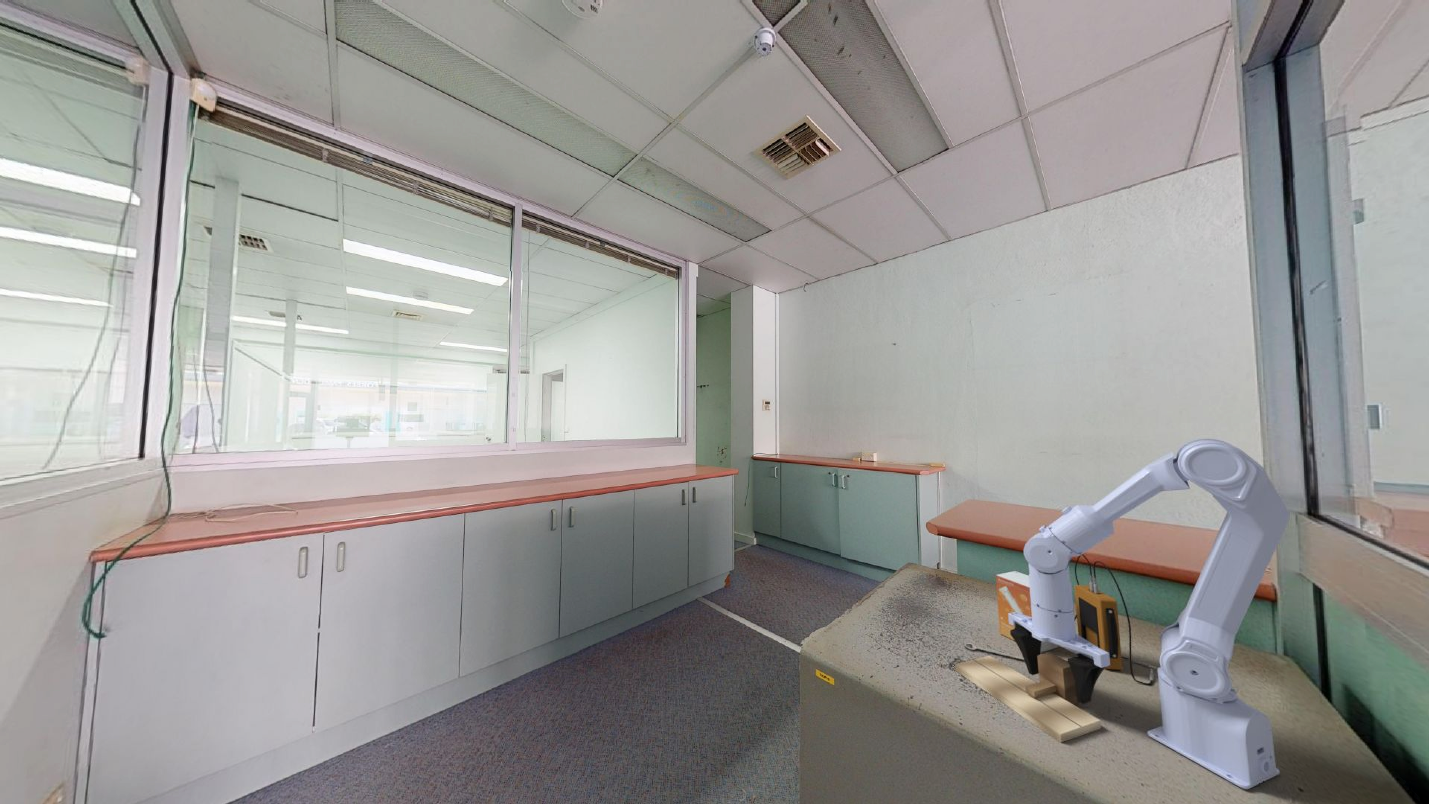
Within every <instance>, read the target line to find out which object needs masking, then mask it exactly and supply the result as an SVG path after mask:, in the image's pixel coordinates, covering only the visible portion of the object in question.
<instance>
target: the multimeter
mask: <svg viewBox="0 0 1429 804" xmlns="http://www.w3.org/2000/svg"><path fill="white" fill-rule="evenodd" d="M1081 556H1082V557H1083V558H1084V559H1085V560H1086V561H1087V563H1088V567H1089V574H1090V575H1089V585H1086V584H1085V585H1084V584H1083V585H1082V584H1080V583H1079V580H1078V575H1077V565H1078V562H1079V560H1080V557H1081ZM1098 563H1099V564H1101V565H1103V566H1104V567H1105V569H1106V570H1107V571H1108V572H1109V575H1111V578H1112V579H1113V581H1114V584H1115V586H1116V587H1117V589H1118V592H1119V595H1120V598H1121V600H1122V604H1123V607H1124V611H1125V614H1126V618H1127V625H1128V634H1129V635H1128V638H1129V639H1128V645H1129V647H1128V650H1129V651H1128V654H1129V656H1128V657H1129V658H1128V657H1125V656H1122V647H1121V645H1122V644H1121V637H1120V636H1121V635H1120V624H1119V623H1120V622H1119V611H1118V601H1117V600H1116V599H1115V598H1113V597H1112V596H1109V595H1108V594H1106V593H1104V592H1102V591H1100V590H1099V585H1098V584H1097V576H1096V575H1097V573H1096V565H1097V564H1098ZM1092 568H1093V570H1092ZM1074 576H1075V581H1076V583H1077V584H1074V585H1073V586H1074V598H1075V599H1074V600H1075V601H1074V602H1075V612H1076V614H1075V615H1074V618H1075V621H1076V622H1077V623H1076V624H1077V632H1078V633H1077V635H1079V636H1080V637H1082V638H1084V639H1085V640H1087V641H1088V642H1090V643H1092V644H1093V645H1095V646H1096V647H1098V648H1100V649H1102V650H1104V651H1106V652H1108V653H1109V657H1110V666H1107V667H1106V668H1105V669H1104V670H1119V671H1122V670H1123V660H1122V659H1125V660H1128V661H1129V670H1130V674H1131V677H1132V679H1133V680H1134V681H1135V682H1137V683H1138V684H1142V685H1147V686H1151V685H1152V684H1153V682H1154V677H1155V673H1154V672H1153V669H1157V670H1158V668H1159V667H1157V666H1155V665H1150V663H1146V662H1143V661H1141V660H1136V659H1134V658H1132V627H1131V620H1130V615H1129V613H1128V608H1127V606H1126V602H1125V599H1124V596H1123V593H1122V591H1121V588H1120V587H1119V583H1118V582H1117V580H1116V578H1115V576H1114V574H1113V573H1112V571H1111V569H1110V568H1109V567H1108V566H1107V565H1106V564H1105V563H1104V562H1102V561H1098V560H1096V561H1095V562H1094V563H1093V567H1092V565H1091V562H1090V560H1089V559H1088V558H1087V557H1086V555H1084V553H1083V554H1082V555H1080V556H1077V557H1076V561H1075V564H1074ZM1132 663H1134V664H1138V665H1141V666H1145V667H1147V668H1150V667H1151V669H1150V671H1149V672H1148V673H1149V680H1150V682H1143V681H1140V680H1137V679H1136V678H1135V675H1134V672H1133V665H1132ZM1152 668H1153V669H1152Z"/></svg>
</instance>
